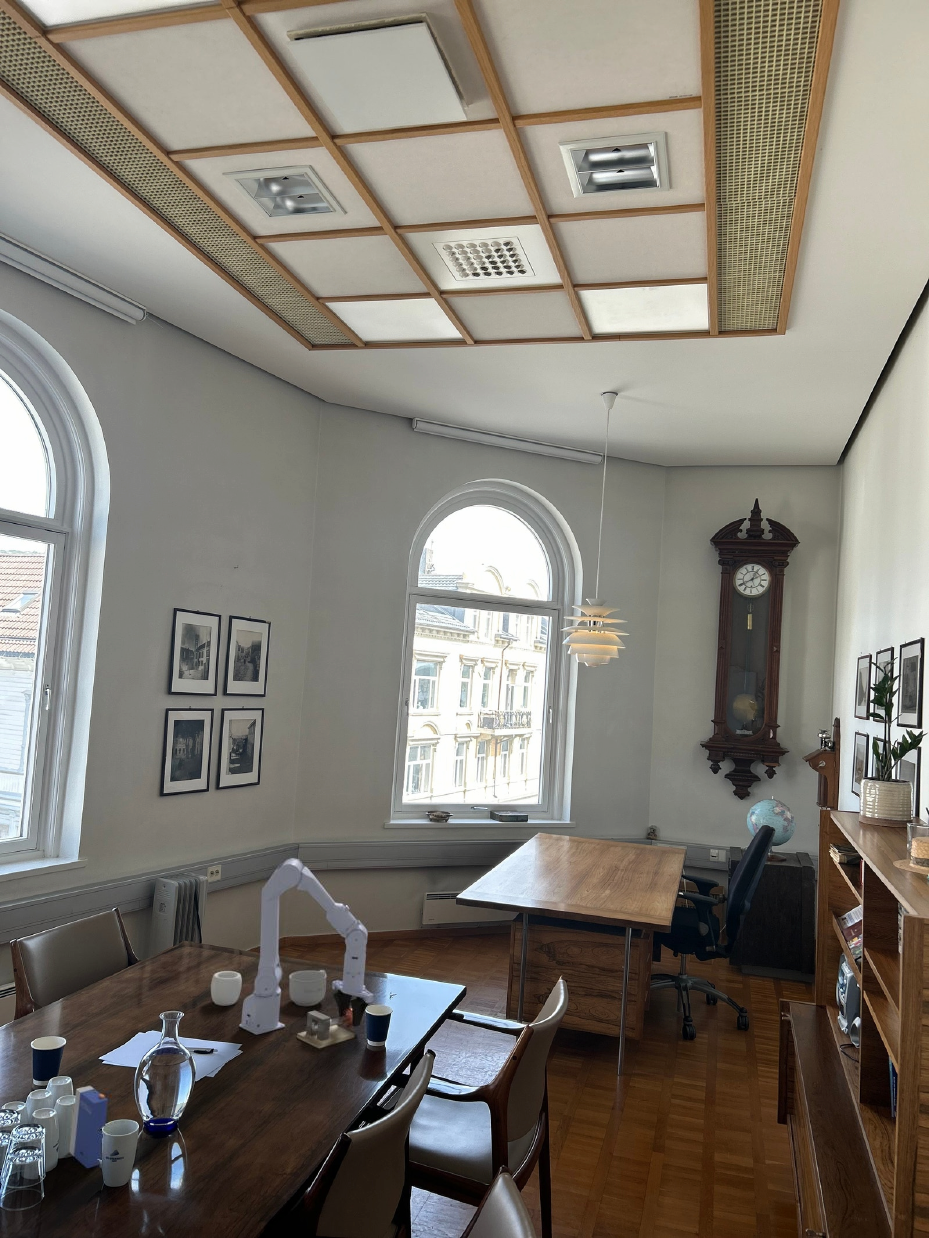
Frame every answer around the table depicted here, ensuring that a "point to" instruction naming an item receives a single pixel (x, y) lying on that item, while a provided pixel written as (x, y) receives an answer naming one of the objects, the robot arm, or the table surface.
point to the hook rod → (338, 1020)
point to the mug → (226, 987)
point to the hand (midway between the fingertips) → (349, 1022)
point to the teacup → (307, 987)
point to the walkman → (88, 1126)
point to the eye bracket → (323, 1031)
